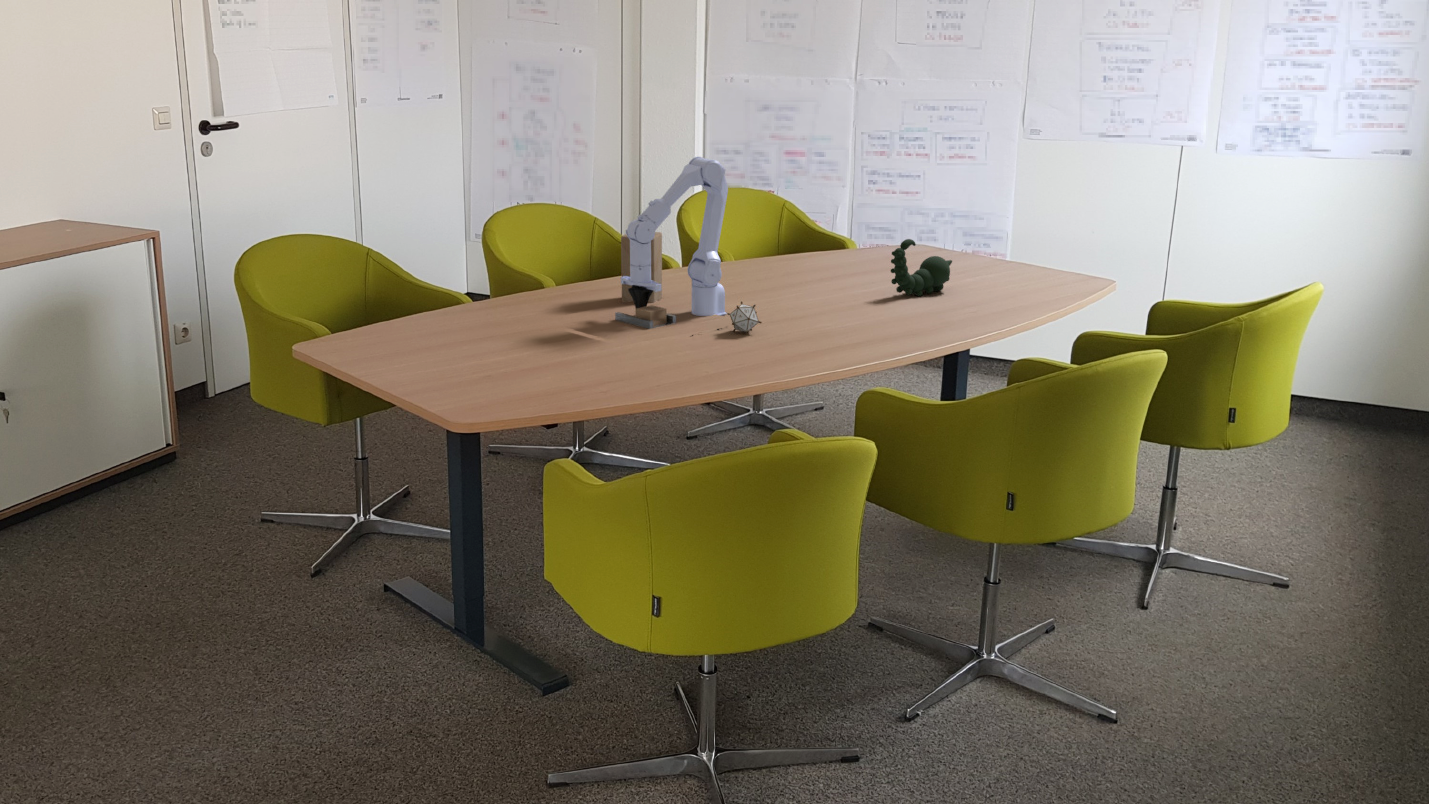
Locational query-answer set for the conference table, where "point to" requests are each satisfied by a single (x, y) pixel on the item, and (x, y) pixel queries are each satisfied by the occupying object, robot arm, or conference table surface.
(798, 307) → the conference table surface
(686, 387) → the conference table surface
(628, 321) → the chute
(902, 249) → the toy figurine
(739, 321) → the game die
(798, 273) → the conference table surface
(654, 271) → the wooden block
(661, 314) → the walnut block
